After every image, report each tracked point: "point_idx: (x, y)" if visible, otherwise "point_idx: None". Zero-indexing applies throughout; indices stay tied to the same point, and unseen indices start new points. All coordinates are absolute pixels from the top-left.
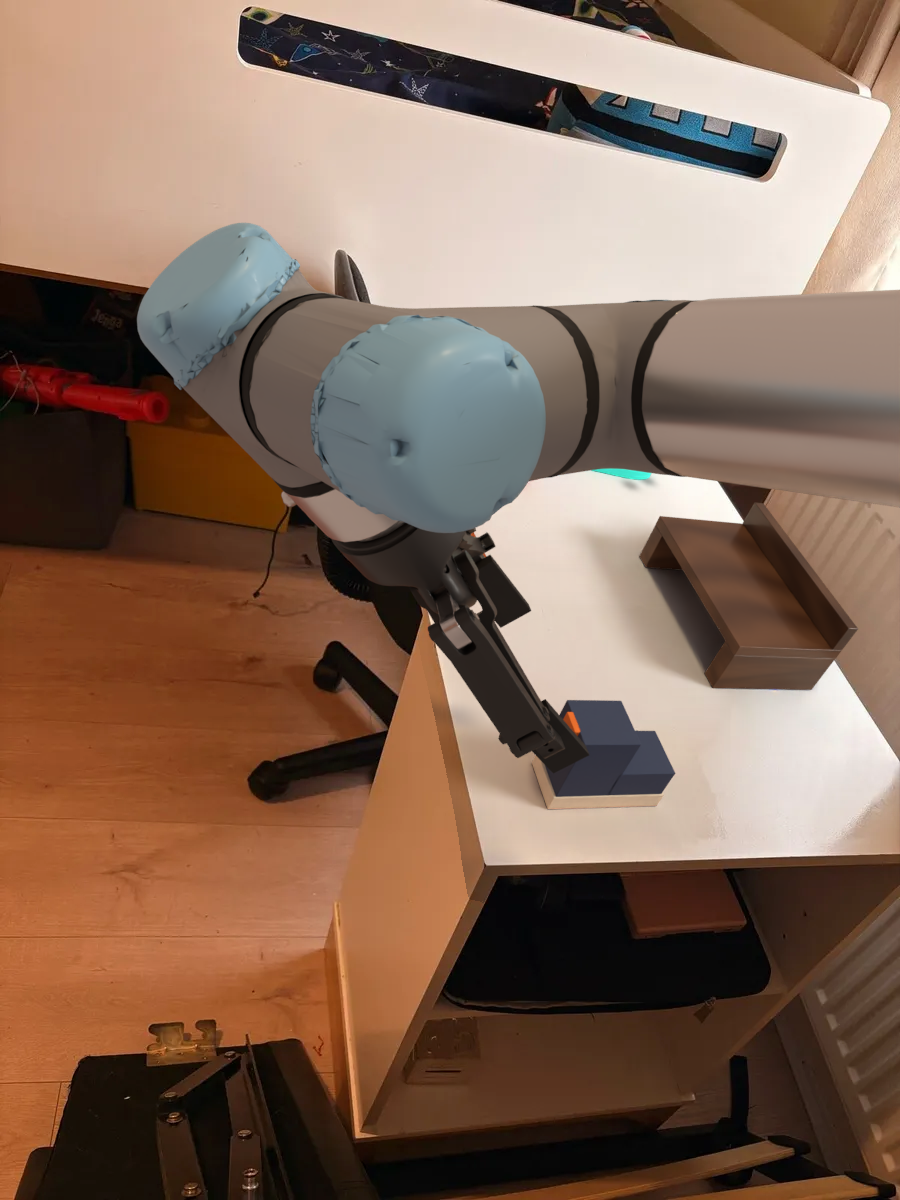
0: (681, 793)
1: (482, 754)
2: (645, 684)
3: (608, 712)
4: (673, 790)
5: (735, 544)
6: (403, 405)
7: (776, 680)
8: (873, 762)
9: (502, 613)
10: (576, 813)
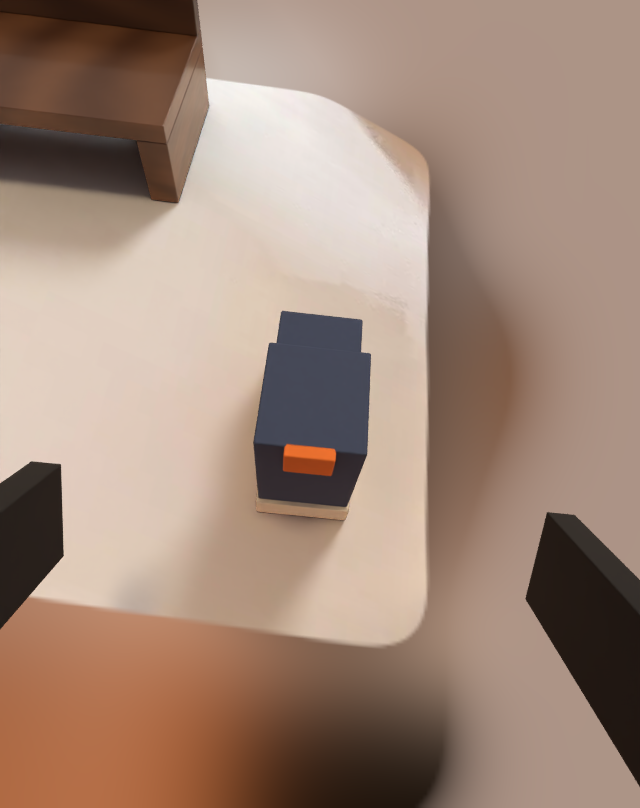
0: None
1: (225, 593)
2: (148, 279)
3: (294, 377)
4: None
5: None
6: None
7: (195, 128)
8: (319, 107)
9: (37, 555)
10: None
